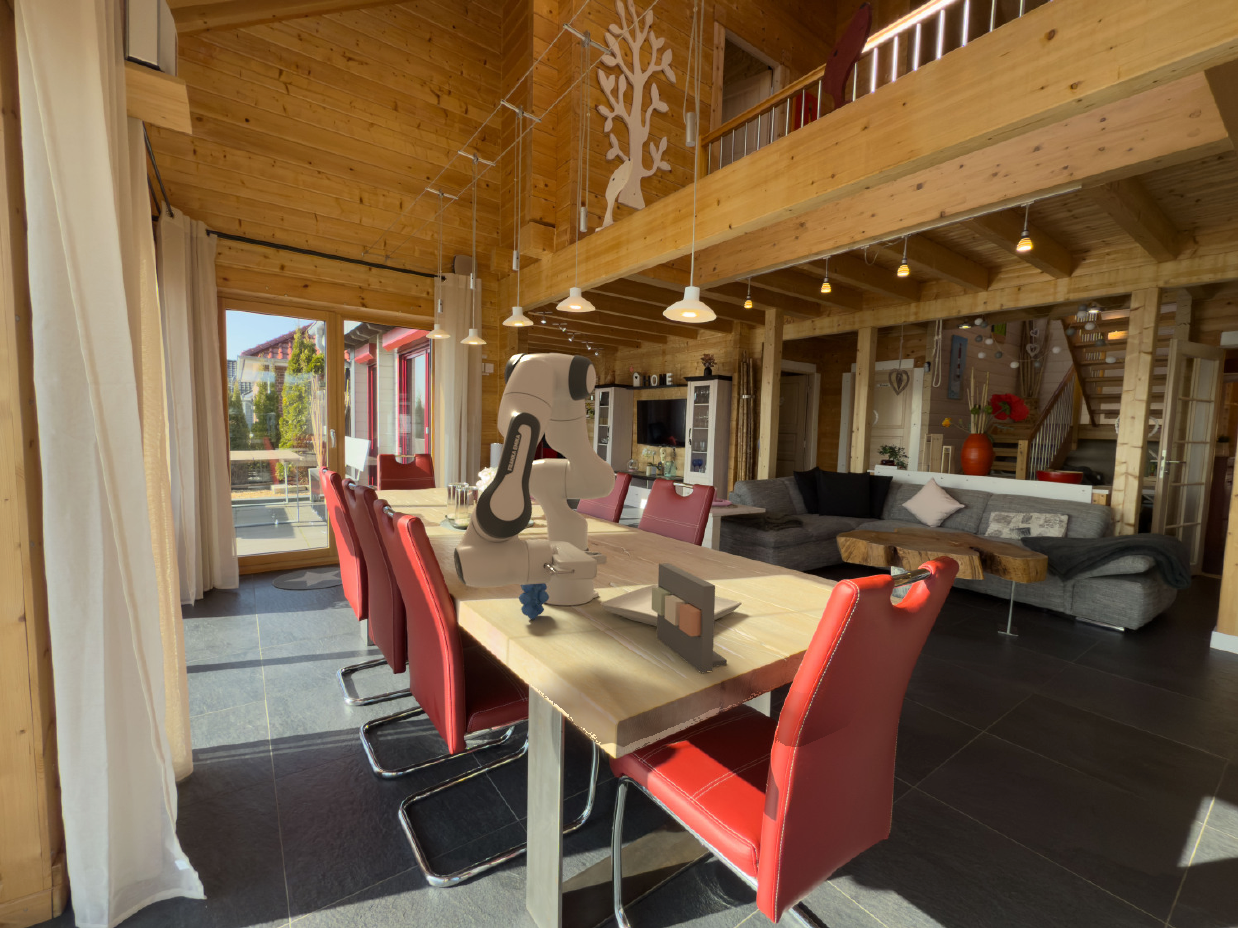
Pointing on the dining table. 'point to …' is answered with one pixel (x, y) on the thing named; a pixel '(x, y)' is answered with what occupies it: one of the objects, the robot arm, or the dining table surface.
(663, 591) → the key sage
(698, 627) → the key terracotta
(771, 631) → the dining table surface
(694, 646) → the keyguard
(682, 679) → the dining table surface
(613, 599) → the square plate
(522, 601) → the grapes
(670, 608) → the key ivory
